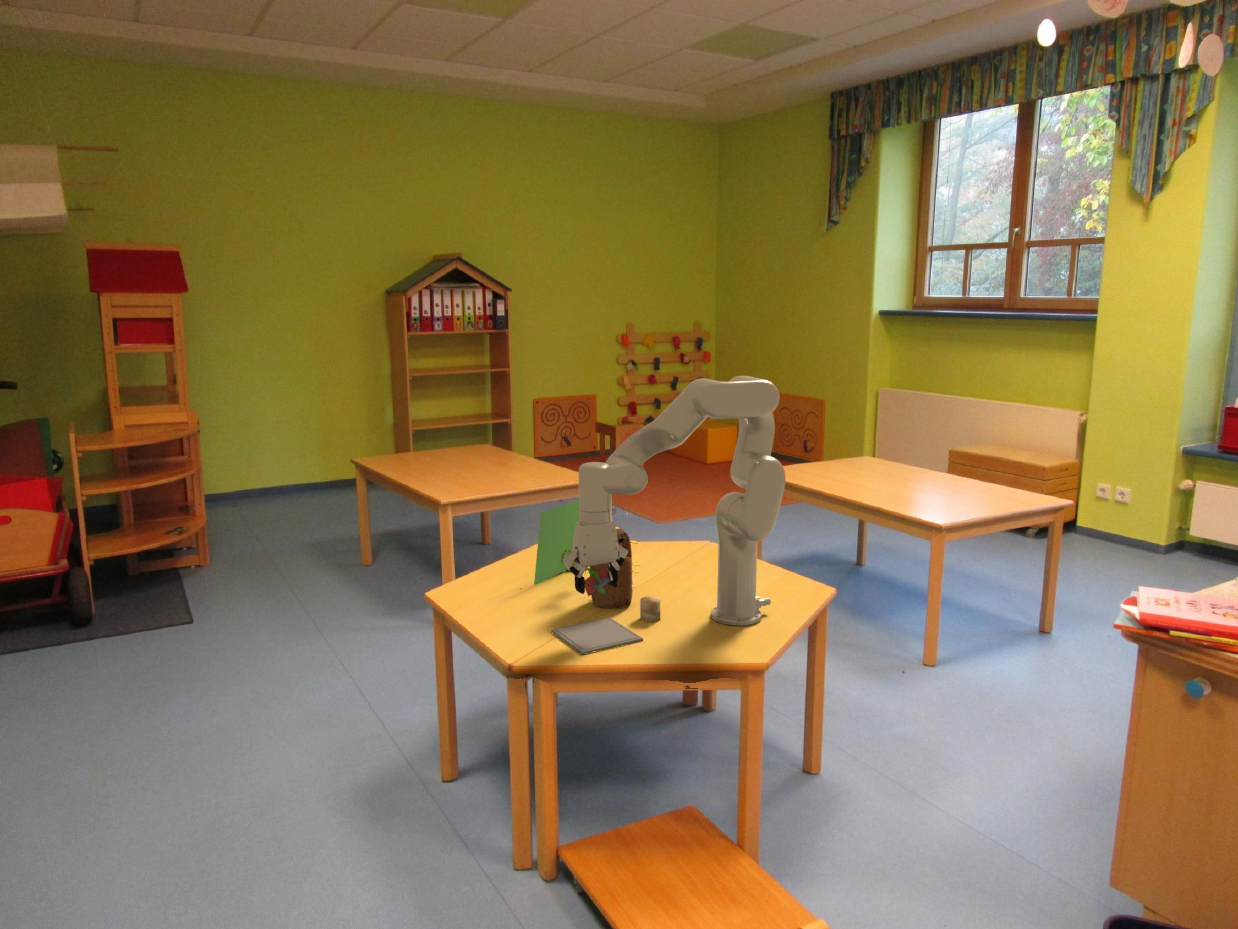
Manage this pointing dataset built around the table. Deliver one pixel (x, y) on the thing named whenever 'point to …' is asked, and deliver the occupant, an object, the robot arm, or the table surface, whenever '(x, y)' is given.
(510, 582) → the table surface
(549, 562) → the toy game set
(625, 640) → the felt mat
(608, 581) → the geometric puzzle
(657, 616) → the tan rounded cylinder
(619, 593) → the block
